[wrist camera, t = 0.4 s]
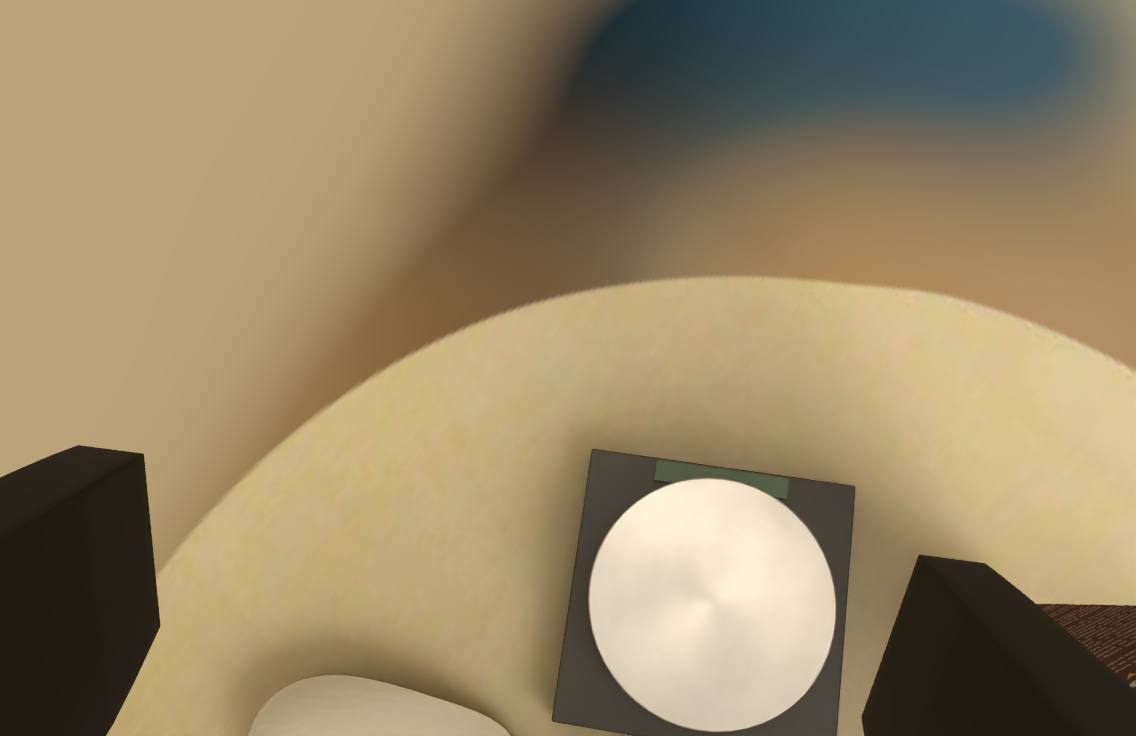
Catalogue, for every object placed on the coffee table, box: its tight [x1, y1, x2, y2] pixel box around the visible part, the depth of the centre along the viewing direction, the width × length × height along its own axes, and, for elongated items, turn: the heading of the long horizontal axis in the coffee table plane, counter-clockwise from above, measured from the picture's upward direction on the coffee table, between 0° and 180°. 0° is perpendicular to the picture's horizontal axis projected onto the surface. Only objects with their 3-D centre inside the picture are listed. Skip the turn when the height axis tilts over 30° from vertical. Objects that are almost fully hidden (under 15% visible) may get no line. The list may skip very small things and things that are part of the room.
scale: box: [552, 449, 855, 736], centre depth 34 cm, size 10×10×2 cm
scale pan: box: [588, 478, 837, 732], centre depth 32 cm, size 9×9×1 cm
